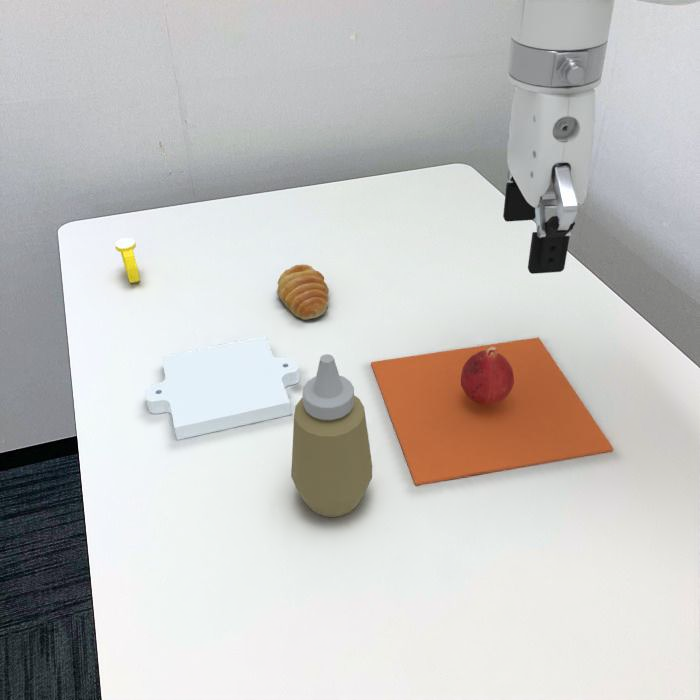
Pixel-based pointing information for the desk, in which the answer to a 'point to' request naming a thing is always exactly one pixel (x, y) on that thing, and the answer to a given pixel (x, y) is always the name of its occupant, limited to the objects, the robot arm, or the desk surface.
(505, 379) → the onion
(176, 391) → the mounting plate
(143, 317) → the desk surface
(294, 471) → the squeeze bottle
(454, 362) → the cloth
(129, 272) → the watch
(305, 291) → the pastry
